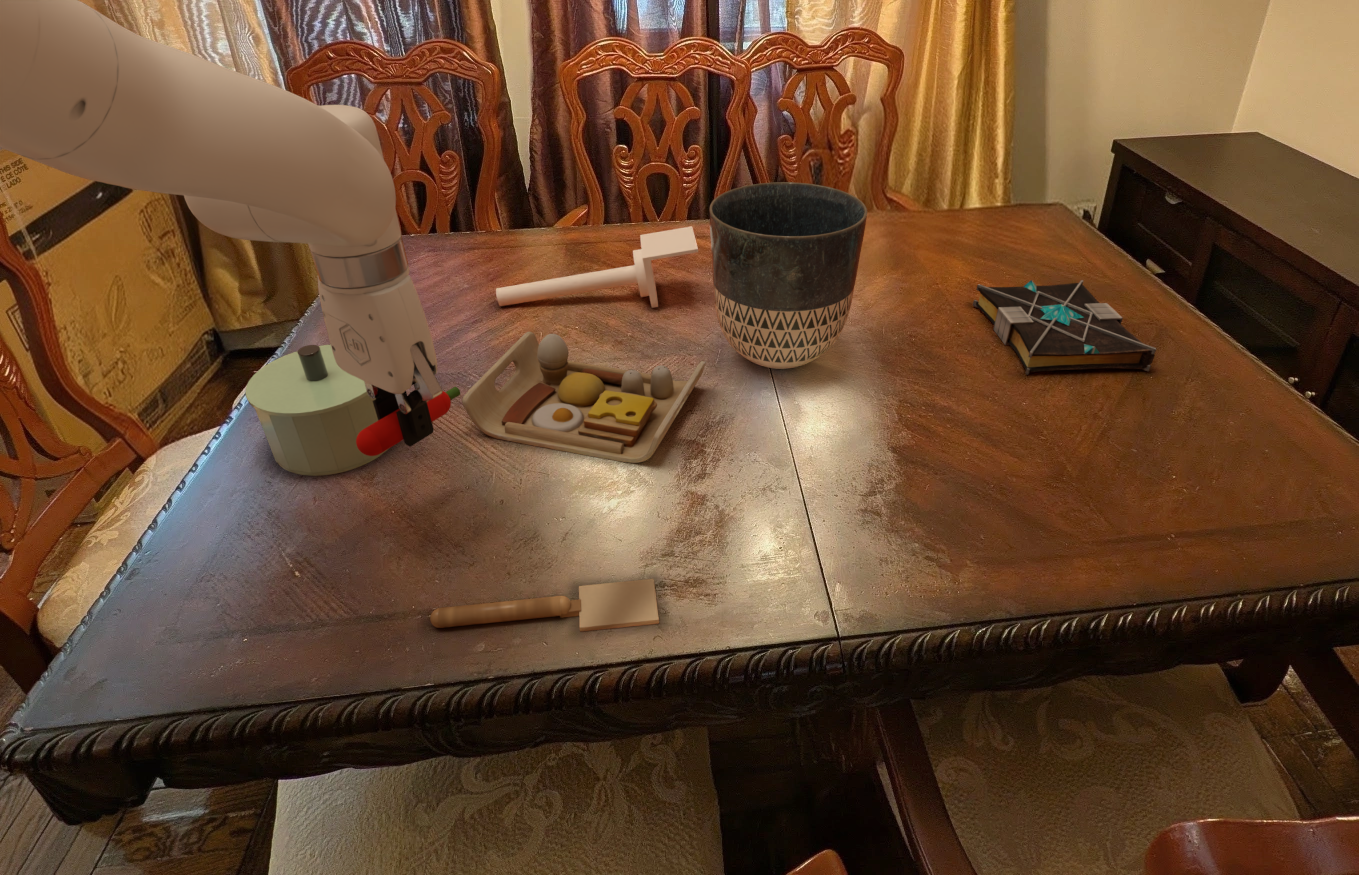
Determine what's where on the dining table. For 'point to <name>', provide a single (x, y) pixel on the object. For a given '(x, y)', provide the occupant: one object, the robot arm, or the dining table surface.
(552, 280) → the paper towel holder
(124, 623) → the dining table surface
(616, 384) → the toy food set
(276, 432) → the pot
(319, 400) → the pot lid
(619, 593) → the spatula
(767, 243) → the planter
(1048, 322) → the book
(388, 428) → the chili pepper
